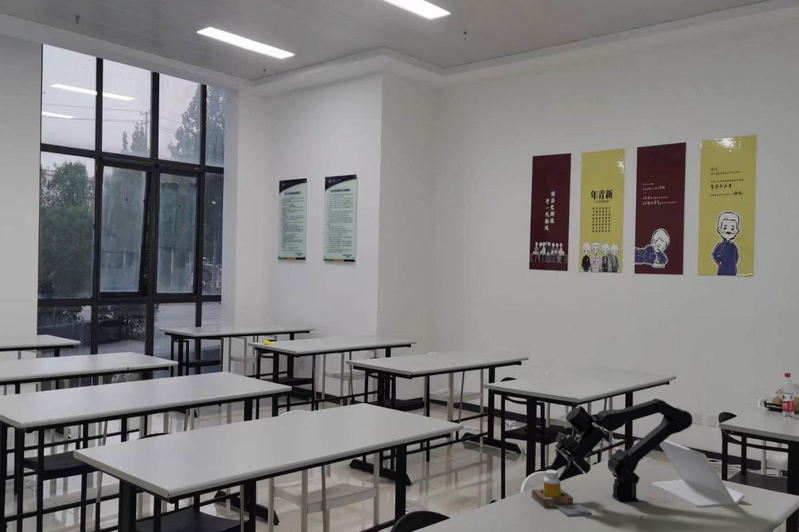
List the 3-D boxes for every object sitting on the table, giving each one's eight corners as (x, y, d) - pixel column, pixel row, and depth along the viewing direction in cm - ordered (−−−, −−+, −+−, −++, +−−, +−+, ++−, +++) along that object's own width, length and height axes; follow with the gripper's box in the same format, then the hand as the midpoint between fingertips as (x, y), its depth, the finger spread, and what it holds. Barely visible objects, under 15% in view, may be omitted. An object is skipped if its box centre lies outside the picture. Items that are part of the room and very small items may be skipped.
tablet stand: (698, 508, 213) (698, 454, 213) (650, 484, 237) (650, 436, 238) (745, 503, 218) (745, 451, 218) (693, 481, 242) (693, 434, 242)
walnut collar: (559, 495, 224) (559, 487, 224) (572, 505, 214) (572, 497, 214) (531, 497, 222) (531, 489, 222) (543, 507, 213) (543, 499, 213)
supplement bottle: (560, 504, 215) (560, 474, 215) (543, 503, 216) (543, 473, 217) (560, 499, 221) (560, 469, 221) (543, 498, 222) (543, 468, 222)
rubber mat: (580, 506, 214) (580, 504, 214) (591, 514, 206) (591, 512, 206) (556, 507, 212) (556, 505, 212) (567, 516, 204) (567, 514, 204)
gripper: (561, 418, 229) (529, 451, 228) (581, 430, 210) (546, 466, 209) (583, 441, 229) (551, 474, 228) (605, 455, 211) (571, 491, 210)
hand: (554, 475), depth 219 cm, fingers open, 9 cm apart
